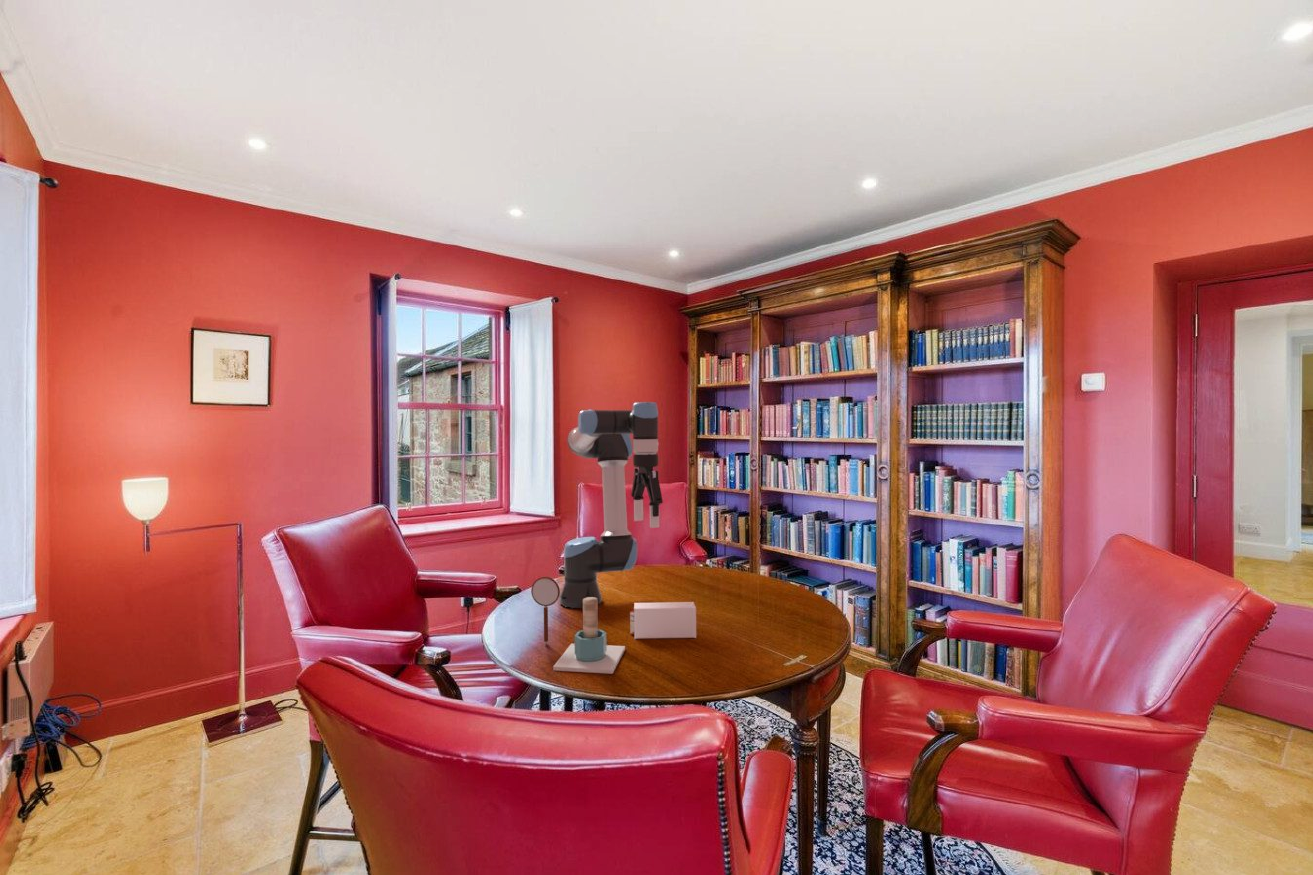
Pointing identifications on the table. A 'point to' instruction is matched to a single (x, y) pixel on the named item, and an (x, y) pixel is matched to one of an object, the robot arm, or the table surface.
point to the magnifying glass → (545, 597)
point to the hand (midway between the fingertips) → (646, 524)
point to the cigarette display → (663, 620)
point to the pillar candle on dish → (590, 617)
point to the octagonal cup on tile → (590, 655)
